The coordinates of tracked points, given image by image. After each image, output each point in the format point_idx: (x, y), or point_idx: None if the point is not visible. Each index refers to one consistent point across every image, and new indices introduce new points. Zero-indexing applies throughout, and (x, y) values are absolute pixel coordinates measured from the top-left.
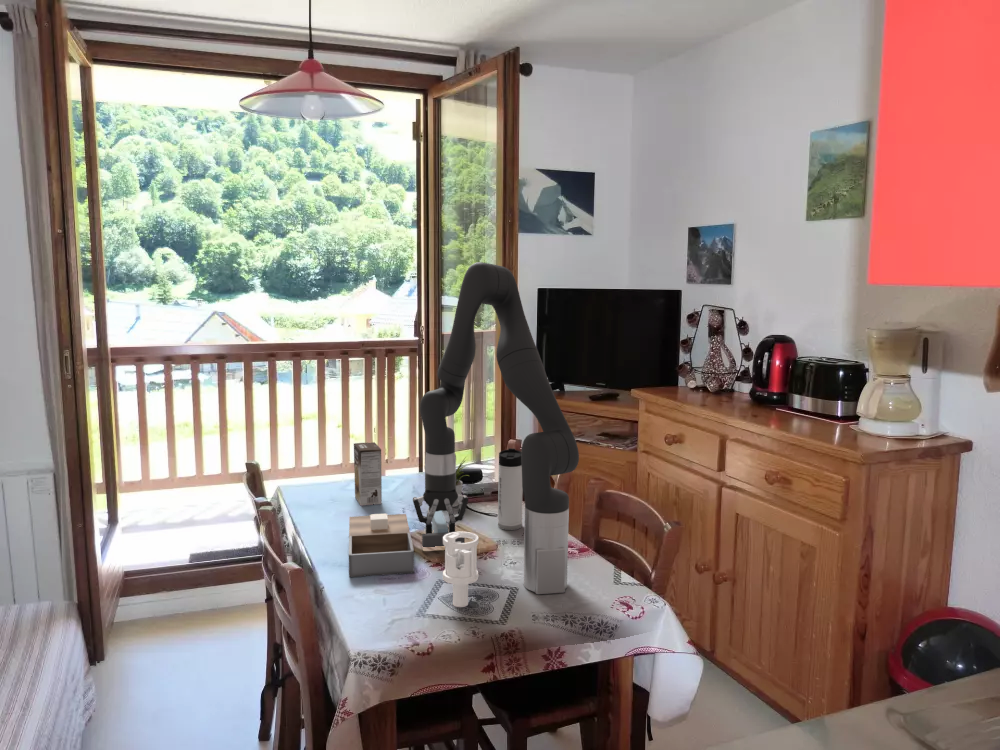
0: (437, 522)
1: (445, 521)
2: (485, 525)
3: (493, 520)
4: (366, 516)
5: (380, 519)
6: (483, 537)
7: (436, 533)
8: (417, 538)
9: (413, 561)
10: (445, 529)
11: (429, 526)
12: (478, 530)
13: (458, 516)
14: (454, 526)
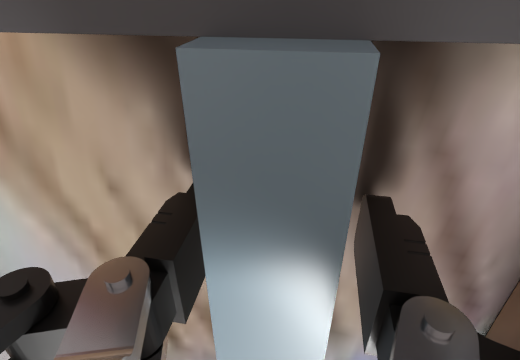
0: (311, 305)
1: (212, 304)
2: None
3: None
4: None
5: None
6: (17, 176)
7: (402, 12)
8: (443, 264)
9: None
10: (230, 42)
11: (412, 279)
12: (68, 271)
13: (16, 317)
14: (143, 242)
